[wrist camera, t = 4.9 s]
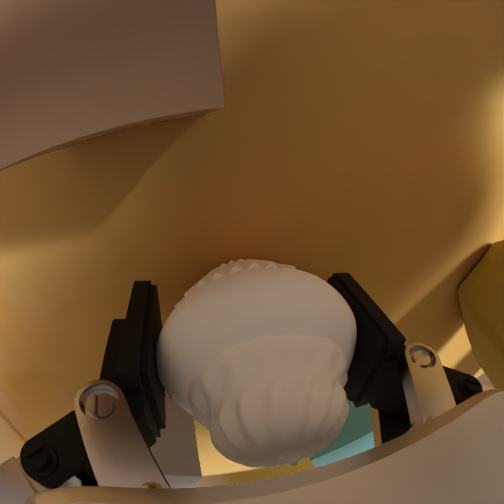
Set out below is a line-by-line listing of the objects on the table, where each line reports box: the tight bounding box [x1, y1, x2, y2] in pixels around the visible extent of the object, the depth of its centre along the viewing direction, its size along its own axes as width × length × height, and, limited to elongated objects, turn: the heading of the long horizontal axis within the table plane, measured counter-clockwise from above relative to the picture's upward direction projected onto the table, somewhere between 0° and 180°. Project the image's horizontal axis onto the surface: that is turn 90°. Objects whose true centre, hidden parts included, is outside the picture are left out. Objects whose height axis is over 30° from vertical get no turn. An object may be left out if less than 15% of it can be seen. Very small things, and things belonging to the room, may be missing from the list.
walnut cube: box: [0, 0, 225, 171], centre depth 5 cm, size 5×5×5 cm
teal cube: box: [309, 397, 374, 468], centre depth 15 cm, size 5×5×5 cm
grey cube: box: [150, 397, 202, 488], centre depth 12 cm, size 5×5×5 cm
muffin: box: [155, 259, 357, 468], centre depth 8 cm, size 6×6×7 cm
